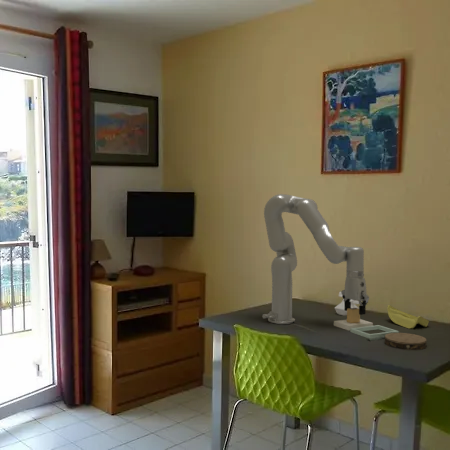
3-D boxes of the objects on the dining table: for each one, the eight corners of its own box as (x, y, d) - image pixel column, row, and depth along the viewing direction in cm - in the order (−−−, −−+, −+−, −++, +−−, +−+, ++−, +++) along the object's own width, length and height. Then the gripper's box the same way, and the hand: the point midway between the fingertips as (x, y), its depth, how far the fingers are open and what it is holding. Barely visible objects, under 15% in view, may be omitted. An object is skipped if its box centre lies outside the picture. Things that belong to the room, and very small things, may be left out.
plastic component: (431, 322, 244) (418, 314, 239) (425, 336, 243) (411, 329, 239) (399, 310, 261) (386, 303, 257) (393, 324, 261) (380, 317, 256)
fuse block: (348, 332, 231) (348, 325, 231) (333, 327, 240) (333, 321, 240) (372, 329, 237) (372, 322, 237) (357, 324, 246) (357, 318, 246)
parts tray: (369, 341, 218) (370, 335, 218) (350, 334, 228) (350, 328, 228) (398, 337, 225) (398, 331, 225) (378, 330, 236) (378, 325, 236)
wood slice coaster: (381, 339, 222) (381, 332, 222) (420, 340, 221) (420, 333, 221) (389, 349, 207) (389, 342, 207) (431, 351, 205) (431, 343, 205)
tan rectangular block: (351, 327, 236) (351, 309, 236) (346, 326, 239) (347, 308, 238) (359, 326, 238) (360, 308, 238) (355, 325, 241) (355, 307, 241)
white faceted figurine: (352, 318, 260) (353, 290, 259) (331, 313, 271) (331, 286, 270) (363, 316, 265) (364, 289, 264) (342, 311, 276) (343, 285, 275)
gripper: (375, 276, 231) (374, 315, 232) (348, 271, 247) (348, 308, 247) (361, 277, 228) (361, 316, 229) (335, 272, 243) (335, 309, 244)
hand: (354, 312), depth 238 cm, fingers open, 9 cm apart
